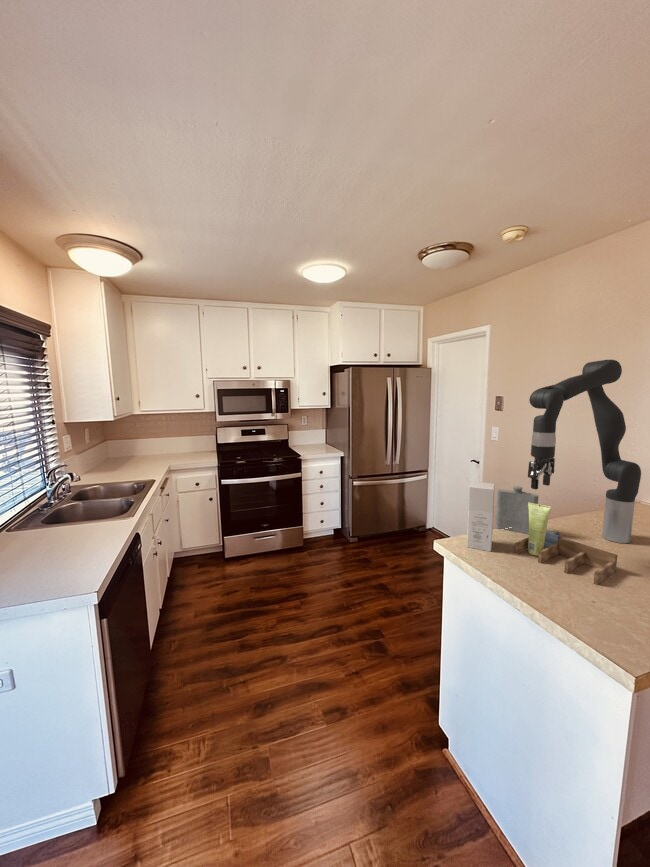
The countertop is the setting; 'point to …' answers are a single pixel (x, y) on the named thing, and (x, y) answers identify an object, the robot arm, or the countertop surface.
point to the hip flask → (514, 509)
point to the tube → (537, 527)
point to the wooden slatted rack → (574, 555)
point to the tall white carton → (480, 515)
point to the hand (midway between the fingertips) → (540, 487)
